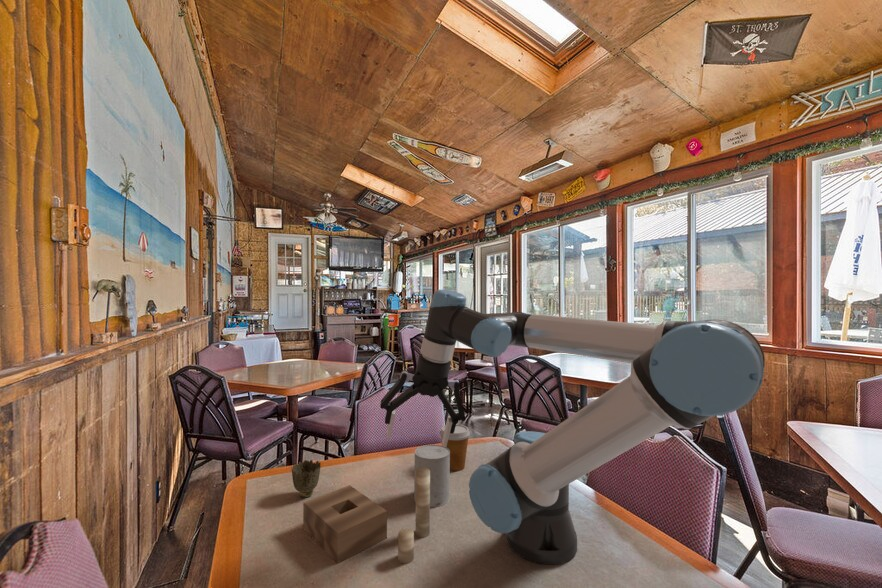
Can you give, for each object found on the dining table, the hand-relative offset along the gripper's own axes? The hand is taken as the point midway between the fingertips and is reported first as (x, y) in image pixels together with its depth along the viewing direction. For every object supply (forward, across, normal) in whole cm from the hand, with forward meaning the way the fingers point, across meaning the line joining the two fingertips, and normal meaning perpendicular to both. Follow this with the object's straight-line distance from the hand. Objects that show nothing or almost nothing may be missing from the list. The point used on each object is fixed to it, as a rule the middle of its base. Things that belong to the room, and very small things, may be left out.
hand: (416, 440), depth 91 cm
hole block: (+21, +12, +7) cm, 25 cm away
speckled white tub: (+20, -9, -6) cm, 23 cm away
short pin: (+17, -1, +16) cm, 23 cm away
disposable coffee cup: (+22, -18, -24) cm, 38 cm away
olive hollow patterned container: (+28, +24, -11) cm, 38 cm away
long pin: (+18, -5, +8) cm, 20 cm away
